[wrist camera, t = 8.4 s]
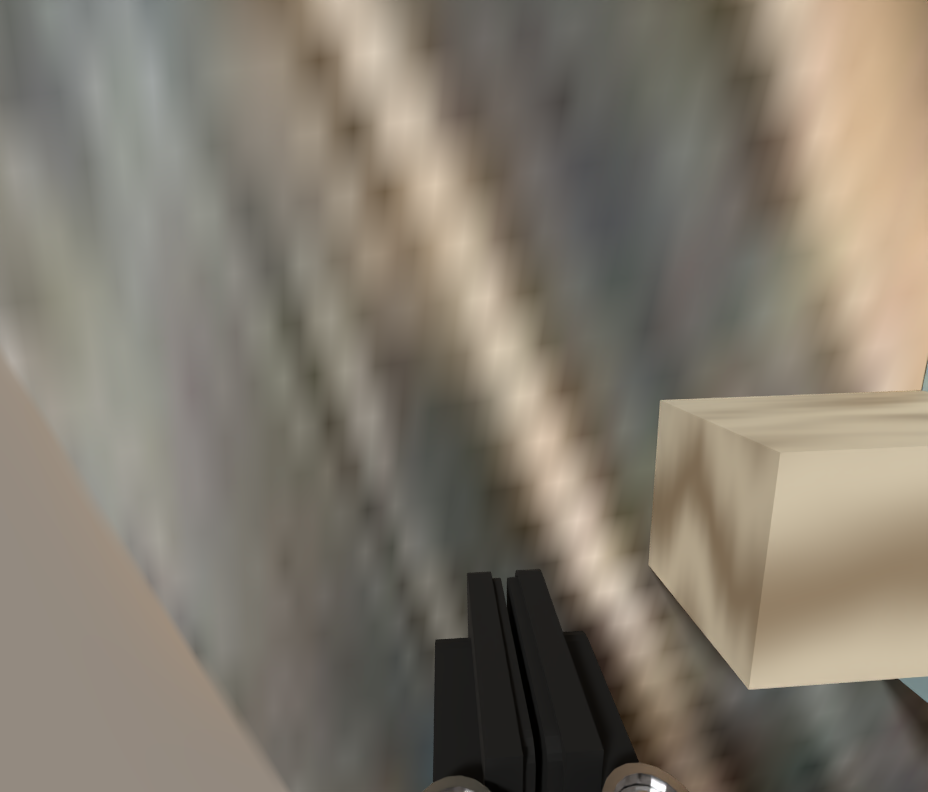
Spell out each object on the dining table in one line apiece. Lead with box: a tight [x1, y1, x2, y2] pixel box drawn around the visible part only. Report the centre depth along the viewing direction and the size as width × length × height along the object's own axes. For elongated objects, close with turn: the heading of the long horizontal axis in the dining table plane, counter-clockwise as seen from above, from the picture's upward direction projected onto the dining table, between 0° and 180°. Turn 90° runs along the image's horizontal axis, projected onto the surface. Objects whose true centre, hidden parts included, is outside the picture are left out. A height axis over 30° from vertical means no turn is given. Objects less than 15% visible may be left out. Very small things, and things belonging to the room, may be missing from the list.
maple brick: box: [649, 390, 928, 690], centre depth 17 cm, size 8×12×7 cm, turn 91°
